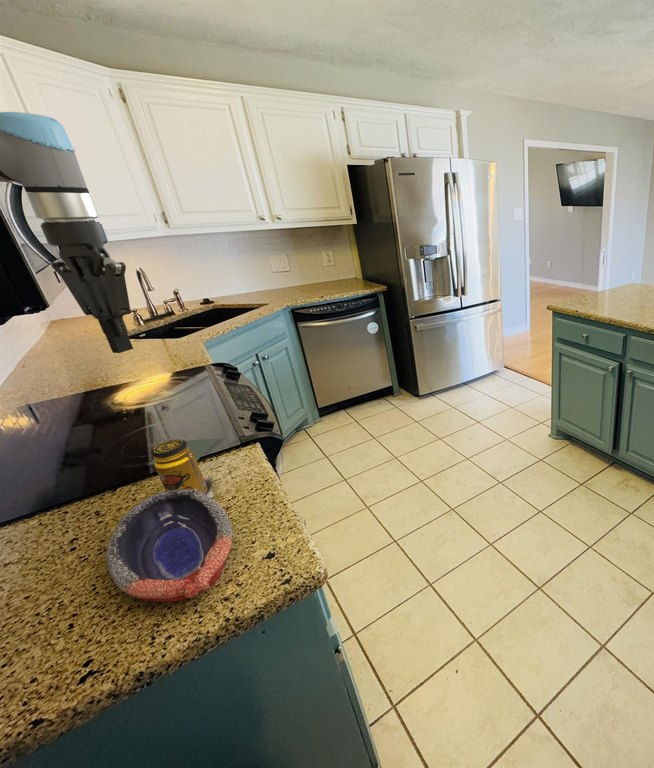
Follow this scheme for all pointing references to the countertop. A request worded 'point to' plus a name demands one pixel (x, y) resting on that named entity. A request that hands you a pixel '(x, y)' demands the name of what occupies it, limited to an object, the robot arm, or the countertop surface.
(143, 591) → the dish
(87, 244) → the robot arm
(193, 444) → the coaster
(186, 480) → the condiment
